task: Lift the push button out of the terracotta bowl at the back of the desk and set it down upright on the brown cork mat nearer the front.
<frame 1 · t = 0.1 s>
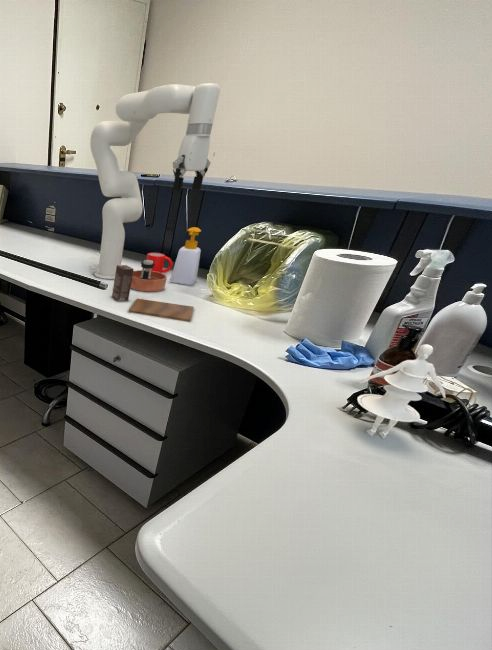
hand: (186, 190, 139), 37 cm above the table, tool pointing down, fingers open, 9 cm apart
box: (120, 299, 154), on the table
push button: (145, 286, 167), resting in bowl
figurine: (374, 433, 82), on the table
cork mat: (161, 310, 143), on the table
bowl: (145, 287, 167), on the table
soap bottle: (181, 283, 173), on the table
mug: (157, 272, 187), on the table
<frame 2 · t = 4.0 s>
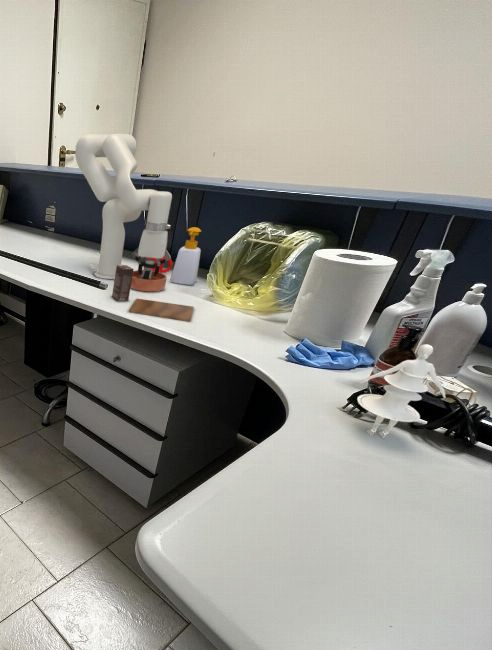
hand: (147, 273, 165), 5 cm above the table, tool pointing down, fingers closed on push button, 5 cm apart
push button: (145, 285, 167), point 1 cm above the table, touching bowl, gripper
everything else where it was.
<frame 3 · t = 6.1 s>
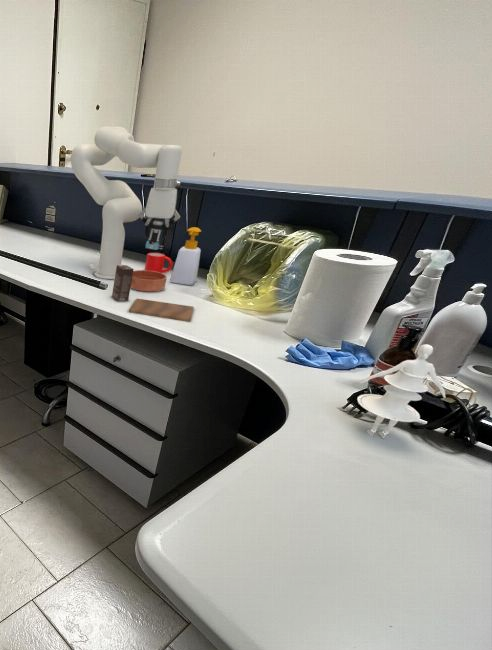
hand: (155, 236, 156), 20 cm above the table, tool pointing down, fingers closed on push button, 5 cm apart
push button: (153, 249, 158), point 15 cm above the table, touching gripper
everything else where it was.
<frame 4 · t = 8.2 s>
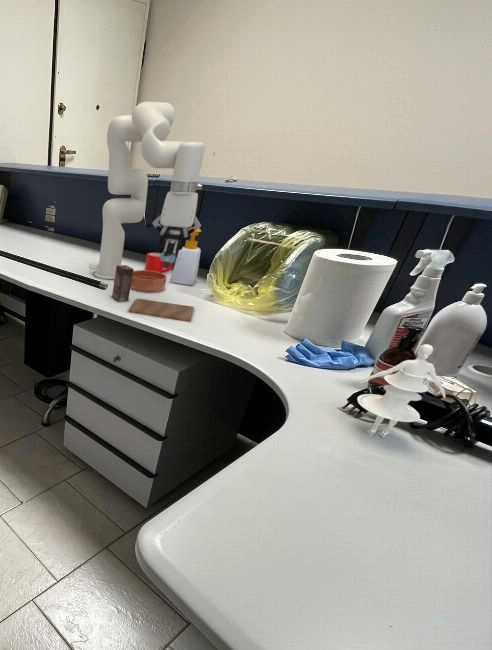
hand: (171, 247, 135), 21 cm above the table, tool pointing down, fingers closed on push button, 5 cm apart
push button: (168, 262, 137), point 16 cm above the table, touching gripper
everything else where it was.
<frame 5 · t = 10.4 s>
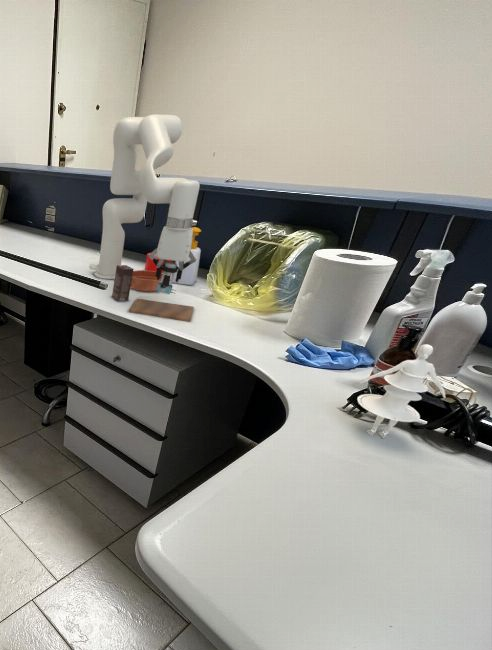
hand: (167, 279, 138), 11 cm above the table, tool pointing down, fingers closed on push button, 5 cm apart
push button: (165, 293, 140), point 6 cm above the table, touching gripper
everything else where it was.
when the fingers open (6 cm above the table, at t = 12.2 s): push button stays where it is, resting on cork mat.
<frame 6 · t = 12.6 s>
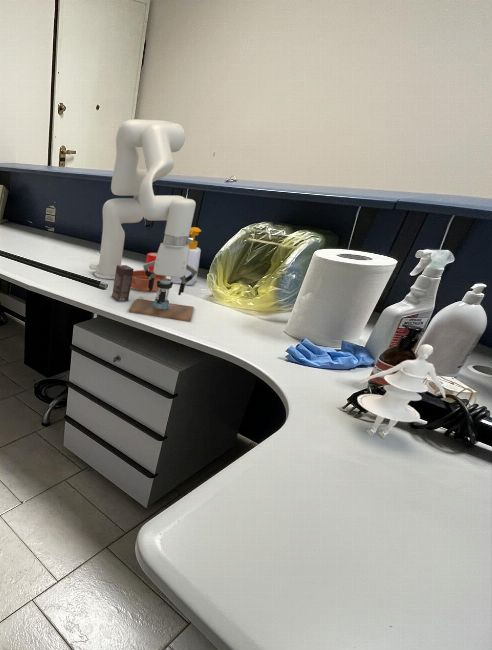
hand: (165, 292, 140), 7 cm above the table, tool pointing down, fingers open, 9 cm apart
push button: (161, 308, 143), point 1 cm above the table, touching cork mat
everything else where it was.
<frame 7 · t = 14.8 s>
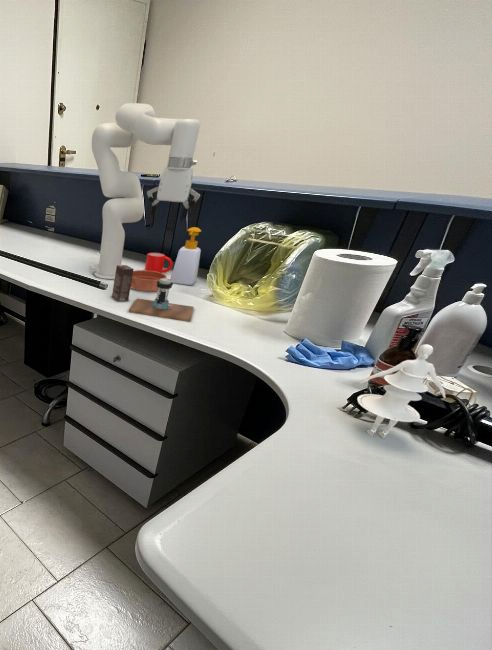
hand: (167, 219, 142), 28 cm above the table, tool pointing down, fingers open, 9 cm apart
nothing on the table moved.
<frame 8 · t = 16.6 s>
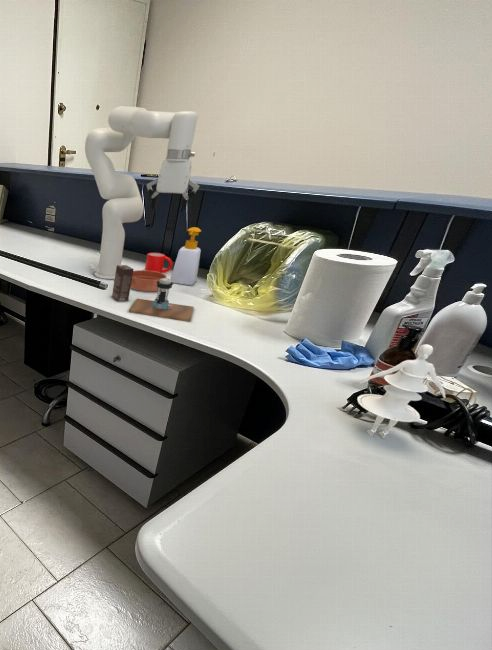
hand: (167, 210, 144), 30 cm above the table, tool pointing down, fingers open, 9 cm apart
nothing on the table moved.
at the end: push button inside the target area on the cork mat (0.1 cm from its centre), point 0.6 cm above the cork mat's base; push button tilted 0°; the gripper is holding nothing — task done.
